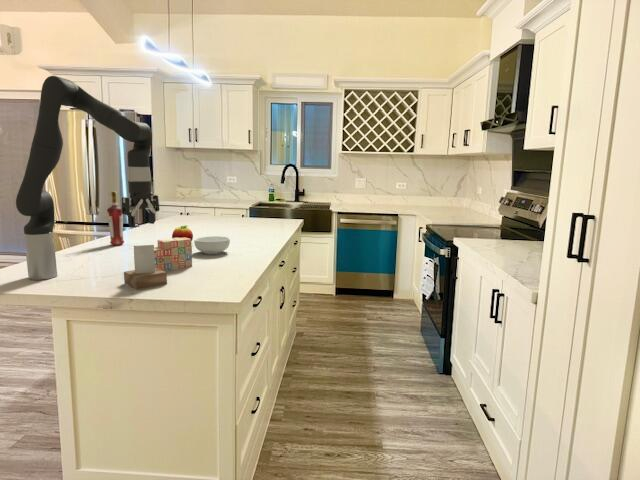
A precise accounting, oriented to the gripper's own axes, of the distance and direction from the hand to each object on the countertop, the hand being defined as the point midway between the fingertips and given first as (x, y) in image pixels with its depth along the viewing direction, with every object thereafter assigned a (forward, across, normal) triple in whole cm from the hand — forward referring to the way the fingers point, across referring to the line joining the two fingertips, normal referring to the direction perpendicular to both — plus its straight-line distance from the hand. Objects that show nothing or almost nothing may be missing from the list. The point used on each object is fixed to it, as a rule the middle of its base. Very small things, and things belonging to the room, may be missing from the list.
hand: (142, 225), depth 157 cm
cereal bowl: (+22, -54, -16) cm, 61 cm away
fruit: (+22, -61, -43) cm, 78 cm away
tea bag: (+18, 0, 0) cm, 18 cm away
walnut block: (+22, 0, 0) cm, 23 cm away
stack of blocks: (+22, -20, -11) cm, 32 cm away
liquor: (+22, -42, -71) cm, 85 cm away
